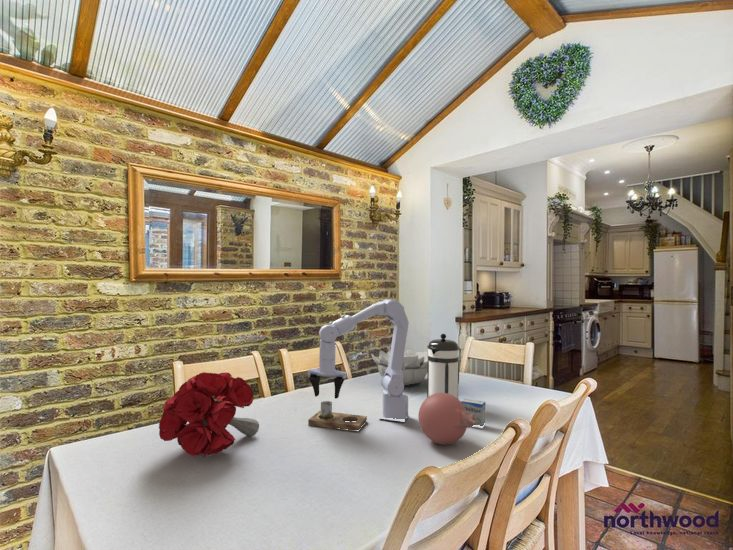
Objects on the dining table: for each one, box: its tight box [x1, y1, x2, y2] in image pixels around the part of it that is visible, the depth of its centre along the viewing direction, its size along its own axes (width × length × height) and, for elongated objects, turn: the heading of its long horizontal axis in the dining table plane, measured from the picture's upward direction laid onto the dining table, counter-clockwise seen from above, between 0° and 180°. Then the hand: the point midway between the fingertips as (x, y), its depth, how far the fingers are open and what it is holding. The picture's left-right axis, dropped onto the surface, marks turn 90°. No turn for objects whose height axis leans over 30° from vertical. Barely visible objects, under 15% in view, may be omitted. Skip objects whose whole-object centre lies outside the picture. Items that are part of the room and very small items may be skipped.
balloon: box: [418, 393, 477, 445], centre depth 120 cm, size 15×20×15 cm
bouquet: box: [158, 371, 260, 458], centre depth 116 cm, size 22×24×30 cm
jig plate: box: [307, 410, 368, 431], centre depth 137 cm, size 18×10×2 cm, turn 73°
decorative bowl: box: [371, 348, 428, 386], centre depth 193 cm, size 30×30×15 cm
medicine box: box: [460, 398, 486, 426], centre depth 137 cm, size 8×4×9 cm, turn 62°
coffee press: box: [426, 333, 460, 399], centre depth 158 cm, size 17×16×30 cm
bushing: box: [320, 400, 333, 419], centre depth 138 cm, size 4×4×7 cm
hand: (326, 396), depth 139 cm, fingers open, 7 cm apart
